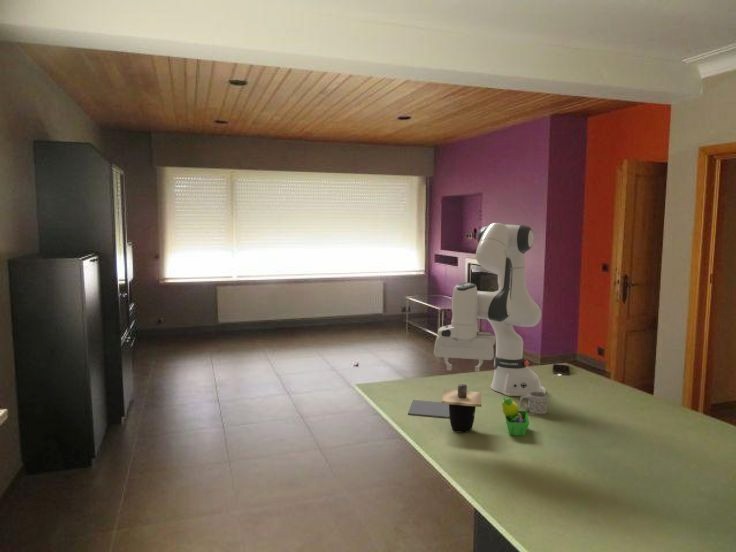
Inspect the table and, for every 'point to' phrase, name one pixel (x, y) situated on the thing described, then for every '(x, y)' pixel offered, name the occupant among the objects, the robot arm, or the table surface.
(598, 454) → the table surface
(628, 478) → the table surface
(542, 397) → the mug
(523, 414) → the fruit basket
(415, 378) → the table surface
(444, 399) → the lid
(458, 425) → the mug
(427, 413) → the mat
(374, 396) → the table surface
